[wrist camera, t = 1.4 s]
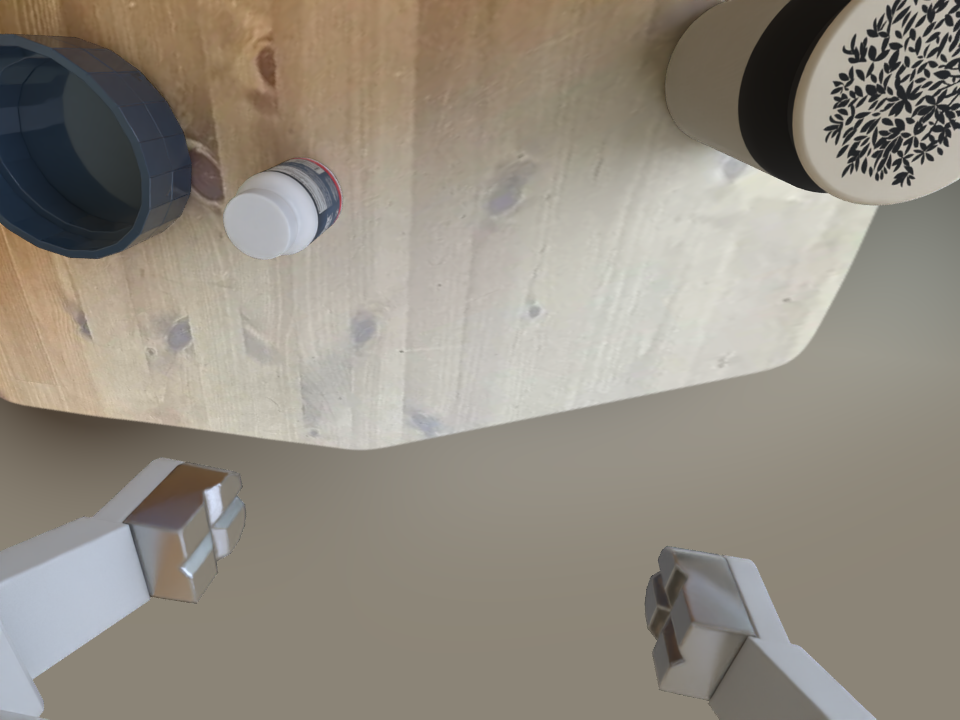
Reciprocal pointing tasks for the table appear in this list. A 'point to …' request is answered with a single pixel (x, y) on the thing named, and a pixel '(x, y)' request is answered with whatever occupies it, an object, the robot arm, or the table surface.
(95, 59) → the bowl
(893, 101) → the travel mug
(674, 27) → the table surface
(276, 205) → the pill bottle
